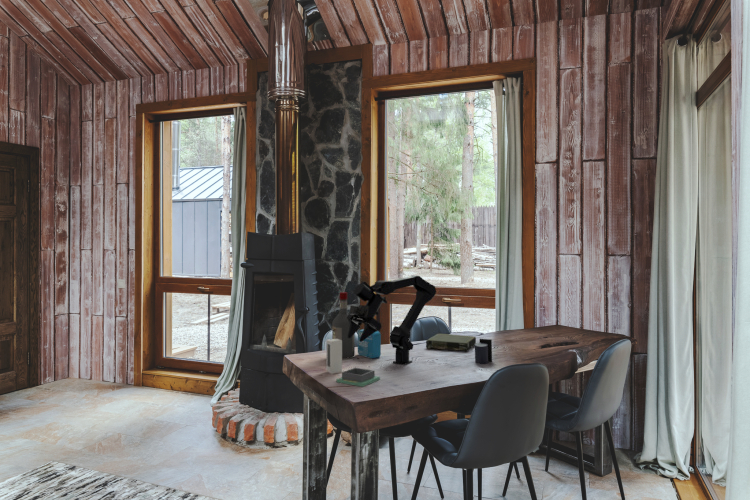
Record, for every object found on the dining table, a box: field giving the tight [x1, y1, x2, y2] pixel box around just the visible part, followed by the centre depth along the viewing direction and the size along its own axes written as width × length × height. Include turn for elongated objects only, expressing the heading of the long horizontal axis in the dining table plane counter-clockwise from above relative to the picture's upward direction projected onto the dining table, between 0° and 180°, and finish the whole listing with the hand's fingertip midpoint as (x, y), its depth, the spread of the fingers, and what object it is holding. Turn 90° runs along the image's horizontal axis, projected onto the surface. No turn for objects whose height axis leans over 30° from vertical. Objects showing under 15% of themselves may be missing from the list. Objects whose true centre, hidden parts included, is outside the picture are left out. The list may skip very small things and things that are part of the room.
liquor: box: [331, 291, 356, 360], centre depth 229 cm, size 9×9×30 cm
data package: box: [357, 328, 382, 359], centre depth 231 cm, size 12×4×12 cm, turn 40°
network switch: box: [425, 333, 477, 353], centre depth 253 cm, size 23×23×5 cm
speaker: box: [474, 338, 493, 365], centre depth 218 cm, size 8×6×10 cm
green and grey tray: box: [336, 367, 381, 387], centre depth 187 cm, size 12×12×4 cm
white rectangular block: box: [325, 338, 343, 375], centre depth 201 cm, size 5×5×13 cm
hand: (354, 339), depth 203 cm, fingers open, 9 cm apart
